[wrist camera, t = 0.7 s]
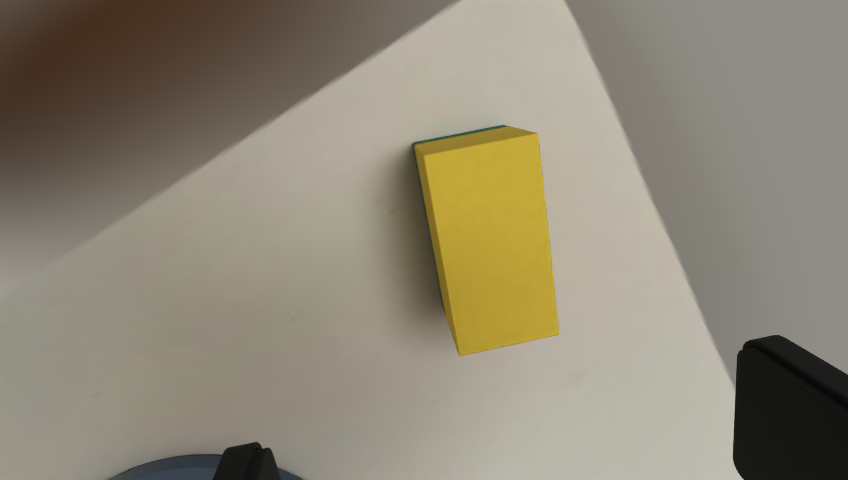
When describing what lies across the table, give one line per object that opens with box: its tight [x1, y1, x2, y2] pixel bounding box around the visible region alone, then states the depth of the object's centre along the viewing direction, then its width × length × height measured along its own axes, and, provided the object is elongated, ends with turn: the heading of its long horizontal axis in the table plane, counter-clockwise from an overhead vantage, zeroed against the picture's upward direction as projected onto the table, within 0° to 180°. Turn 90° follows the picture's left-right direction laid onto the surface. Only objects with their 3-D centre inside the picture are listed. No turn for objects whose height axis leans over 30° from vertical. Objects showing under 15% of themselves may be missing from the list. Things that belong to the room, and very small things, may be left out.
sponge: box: [413, 125, 559, 356], centre depth 22 cm, size 5×9×5 cm, turn 10°
